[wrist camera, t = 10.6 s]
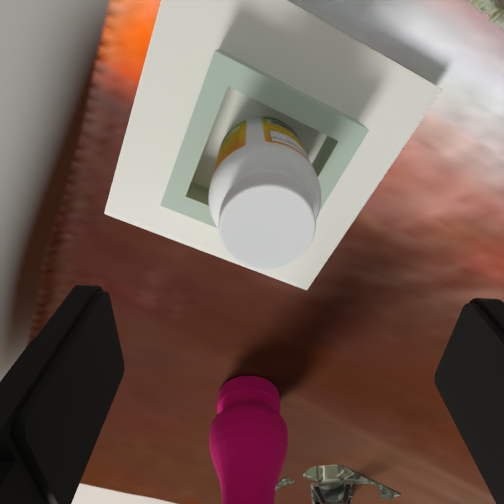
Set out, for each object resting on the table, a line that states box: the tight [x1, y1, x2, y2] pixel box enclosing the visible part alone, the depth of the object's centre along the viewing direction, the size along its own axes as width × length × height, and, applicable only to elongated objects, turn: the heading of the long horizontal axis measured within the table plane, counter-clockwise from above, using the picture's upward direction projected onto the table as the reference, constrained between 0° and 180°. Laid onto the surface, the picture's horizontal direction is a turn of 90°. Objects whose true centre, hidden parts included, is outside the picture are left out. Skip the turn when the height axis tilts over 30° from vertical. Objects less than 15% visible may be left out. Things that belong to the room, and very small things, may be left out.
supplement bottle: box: [208, 116, 322, 270], centre depth 19 cm, size 5×5×10 cm
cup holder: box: [104, 0, 442, 290], centre depth 22 cm, size 16×16×4 cm
